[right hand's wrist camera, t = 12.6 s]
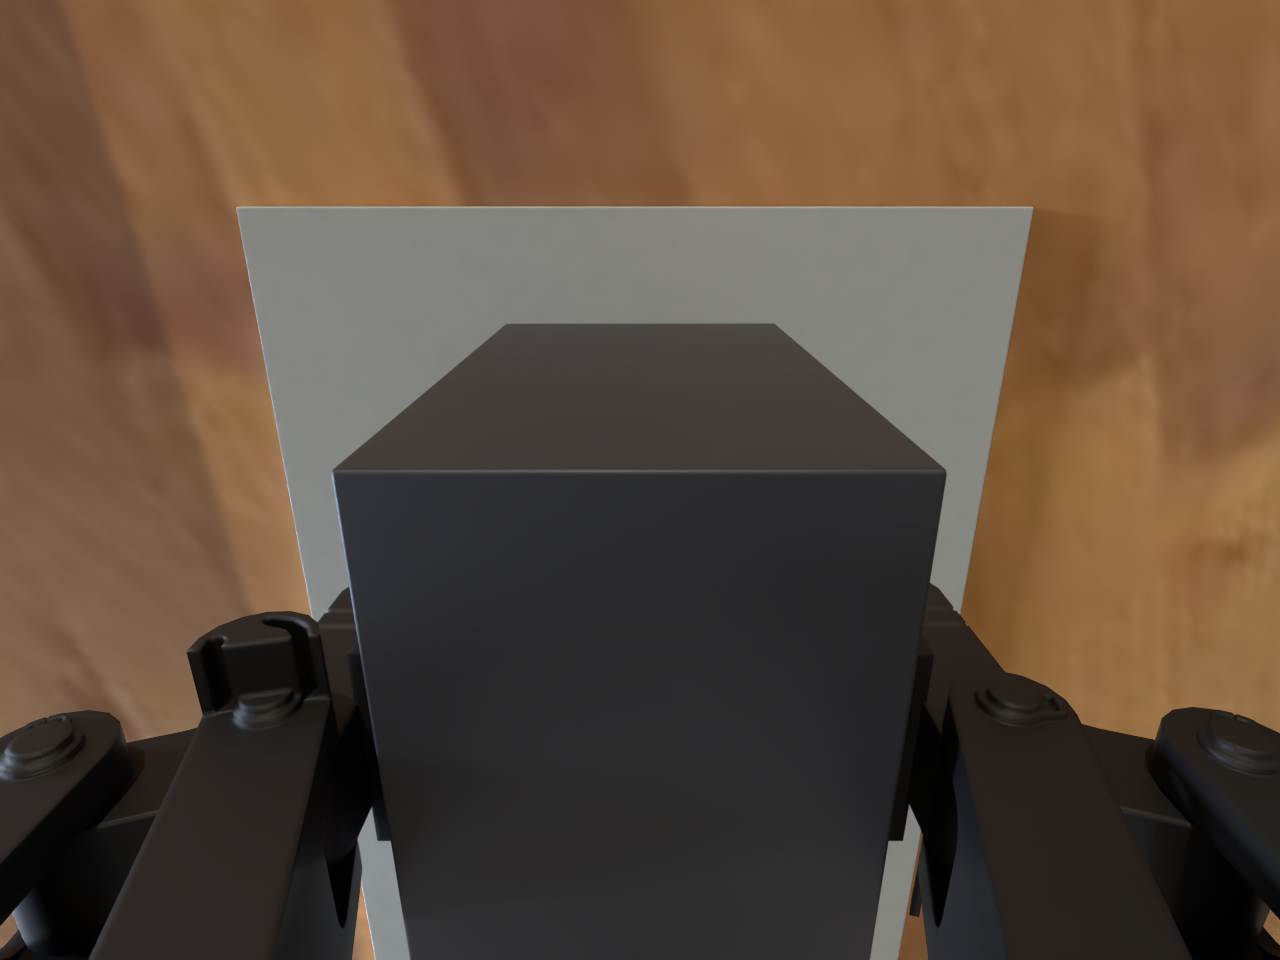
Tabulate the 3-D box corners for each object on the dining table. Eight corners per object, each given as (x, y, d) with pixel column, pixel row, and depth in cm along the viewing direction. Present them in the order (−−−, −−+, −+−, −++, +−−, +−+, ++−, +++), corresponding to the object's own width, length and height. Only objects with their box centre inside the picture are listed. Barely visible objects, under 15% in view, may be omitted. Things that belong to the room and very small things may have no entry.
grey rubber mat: (416, 1154, 29) (413, 1167, 29) (244, 206, 16) (235, 206, 16) (858, 1152, 29) (861, 1164, 29) (1026, 206, 17) (1035, 206, 16)
